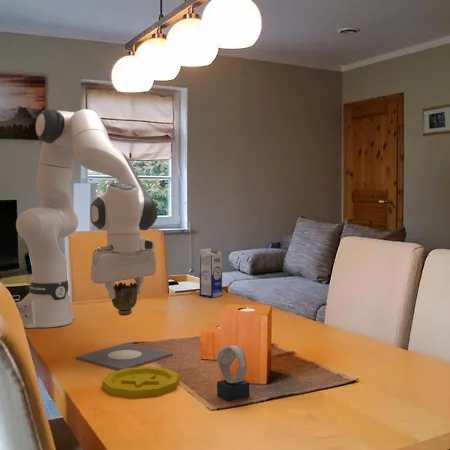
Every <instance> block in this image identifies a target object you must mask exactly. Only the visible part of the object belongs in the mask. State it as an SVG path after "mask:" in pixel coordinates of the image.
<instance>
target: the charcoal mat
mask: <svg viewBox="0 0 450 450" xmlns="http://www.w3.org/2000/svg"><path fill="white" fill-rule="evenodd" d="M168 356H169V357H172V356H174V354H173V352H169V351H164V350H161V349H157V348H152V347H148V346H145V345H139V344H135V343H130V342H125V343H121V344H117V345H114V346H110V347H106V348H101V349H99V350H95V351H91V352H87V353H84V354H83V353H82V354H80V355H76V356H75V359H76V360H80V361H84V362H87V363H90V364H94V365H97V364H98V366H101V367H105V368H108V369H113V370H114V371H118V370H122V369H125V368H134V367H142V366H144V365H147V364H150V363H153V361H154V362H156V360H157V361H159V359H160V360H163V359H165V358H169V357H168ZM162 358H163V359H162Z"/></svg>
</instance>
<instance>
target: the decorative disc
mask: <svg viewBox="0 0 450 450" xmlns="http://www.w3.org/2000/svg"><path fill="white" fill-rule="evenodd" d="M101 381H102V382H101V386H102V390H104V391H106V393H108V395H110V396H116V397H122V398H128V399H138V398H150V397H152V398H153V397H159V396H162V395H165V394H168V393H170V392H174V391H176V390H177V388H178V386H179V384H180V374H179V373H177V372H175V371H174V370H171V369H170V368H164V367H157V366H156V367H155V366H150V365H148V366H138V367H134V368H125V369H122V370H114V371H112V372H108V374H107V375H106V376H105V377H103V379H102V380H101Z"/></svg>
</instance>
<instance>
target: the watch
mask: <svg viewBox="0 0 450 450" xmlns="http://www.w3.org/2000/svg"><path fill="white" fill-rule="evenodd" d="M215 359H216V361H217V365H218V367H219V370H220V373H221V376H222V377H223V379H224V380H223V379H222V380H218V381H217V380H216V384H217V385H216V396H217V397H219V398H220V399H222V400H224V401H226V402H232V401H236V400H240V399H246V398H249V397H250V382H249V381H246V380H245V377H246V374H247V372H248V371H247V370H248V367H247V366H248V365H247V364H248V361H247V357H246V353H245V351H244V349H243V348H242V347H241V346H240V345H237V344H234V345H233V344H228V345H224V346H223V347H222V348H220V349H219V350H218V352H217V353H216V355H215ZM236 359H237V368H236V370H235V374H234V376H233V373H232V370H231V366H232V365H233V363H234V361H235V360H236Z"/></svg>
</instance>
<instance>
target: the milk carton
mask: <svg viewBox="0 0 450 450" xmlns="http://www.w3.org/2000/svg"><path fill="white" fill-rule="evenodd" d="M200 296H202V297H201V298H206V297H207V299H215V298H219V297H222V296H223V253H222V252H220V251H219V250H218V249H215V248H210V247H207V248H202V249H199V297H200Z"/></svg>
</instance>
